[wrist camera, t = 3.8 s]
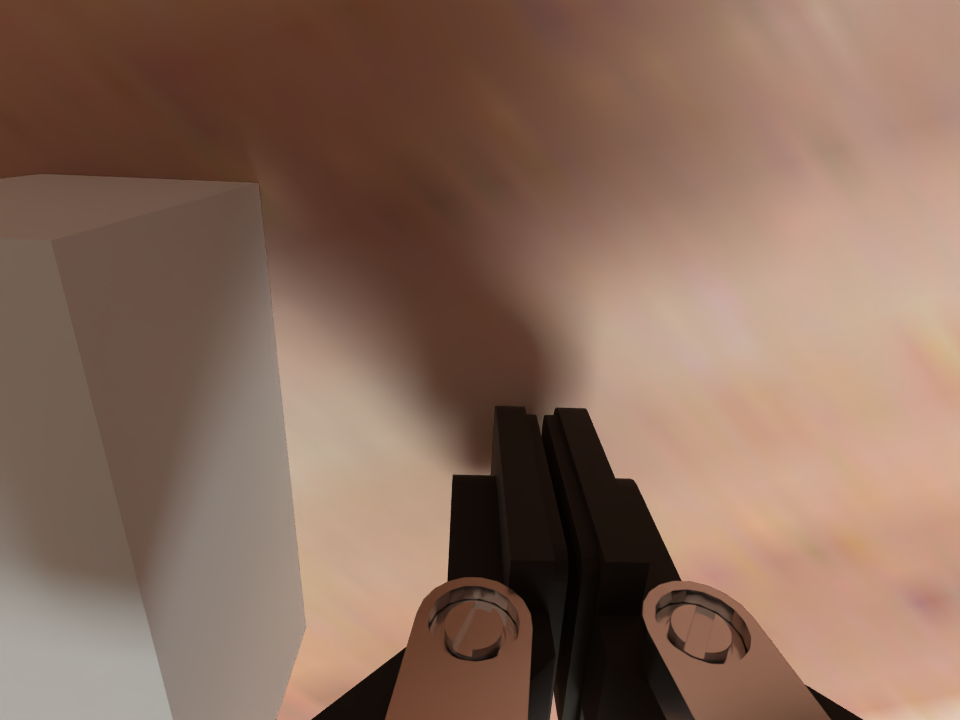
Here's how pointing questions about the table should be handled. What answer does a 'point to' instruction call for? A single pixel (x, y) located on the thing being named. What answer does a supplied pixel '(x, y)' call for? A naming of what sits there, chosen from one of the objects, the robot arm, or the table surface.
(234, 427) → the tee block
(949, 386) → the table surface
